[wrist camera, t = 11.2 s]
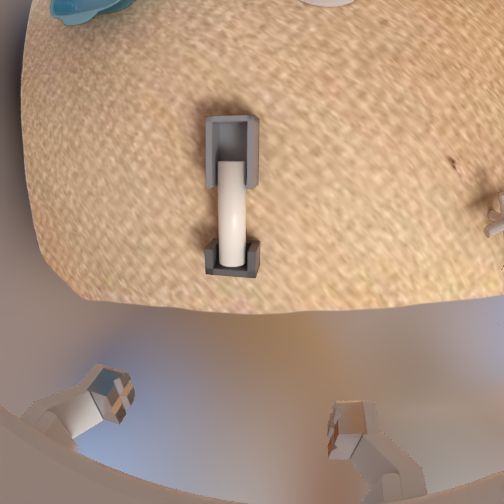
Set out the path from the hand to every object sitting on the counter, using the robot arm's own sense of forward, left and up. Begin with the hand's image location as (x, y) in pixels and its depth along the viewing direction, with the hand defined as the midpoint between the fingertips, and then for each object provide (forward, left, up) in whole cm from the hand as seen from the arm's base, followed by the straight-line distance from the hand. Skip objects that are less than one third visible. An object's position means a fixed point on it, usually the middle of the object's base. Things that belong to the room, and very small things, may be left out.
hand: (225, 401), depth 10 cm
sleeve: (-8, -7, -37) cm, 38 cm away
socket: (+8, -7, -37) cm, 38 cm away
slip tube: (+1, -7, -36) cm, 36 cm away
